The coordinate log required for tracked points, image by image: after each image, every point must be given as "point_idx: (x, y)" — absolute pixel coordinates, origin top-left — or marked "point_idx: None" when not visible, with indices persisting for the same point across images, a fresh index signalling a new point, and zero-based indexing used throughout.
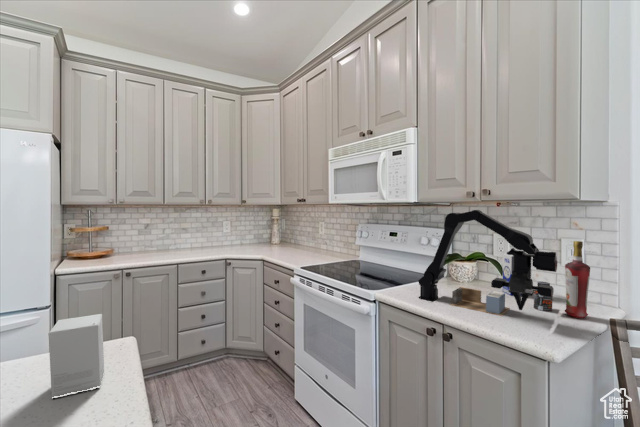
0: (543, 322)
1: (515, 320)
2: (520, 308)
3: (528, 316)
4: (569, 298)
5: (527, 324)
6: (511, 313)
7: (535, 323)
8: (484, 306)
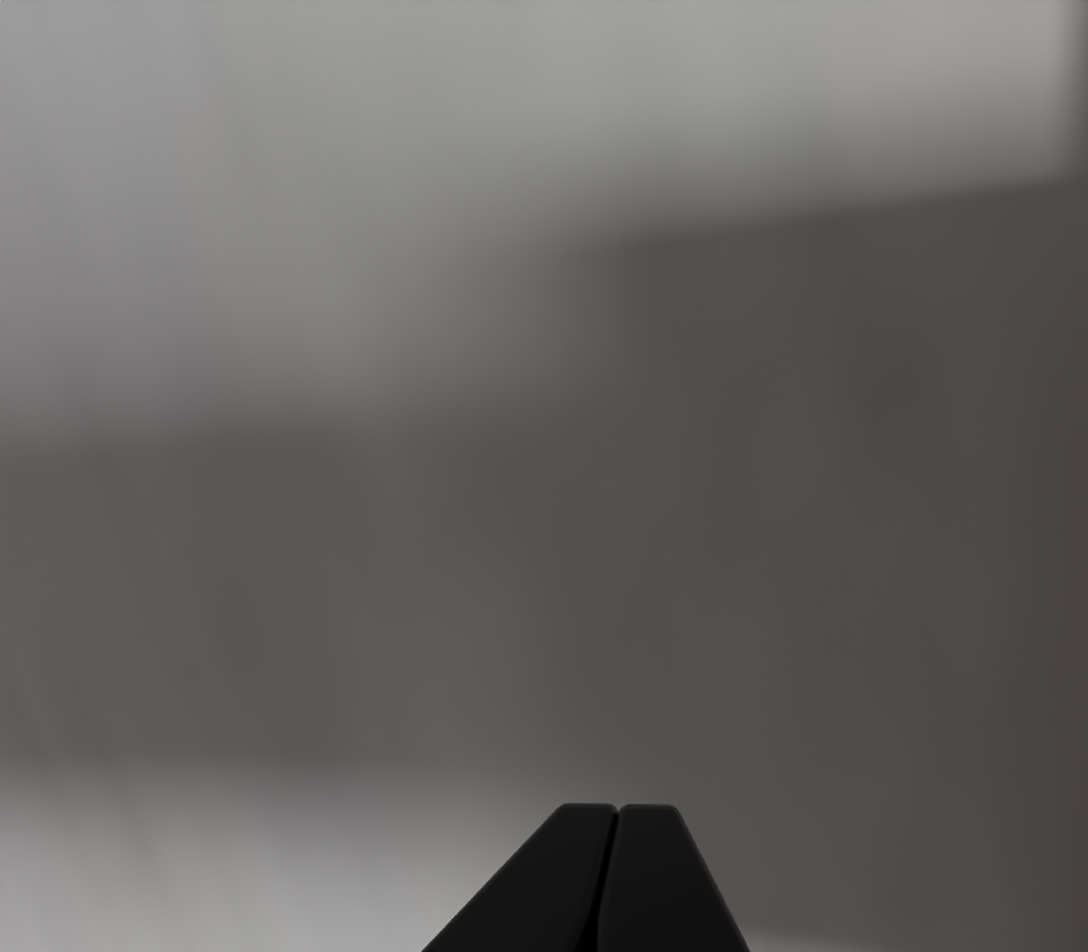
0: (43, 686)
1: (706, 218)
2: (603, 845)
3: None
4: None
5: (246, 88)
6: (1013, 906)
7: (132, 423)
8: None
